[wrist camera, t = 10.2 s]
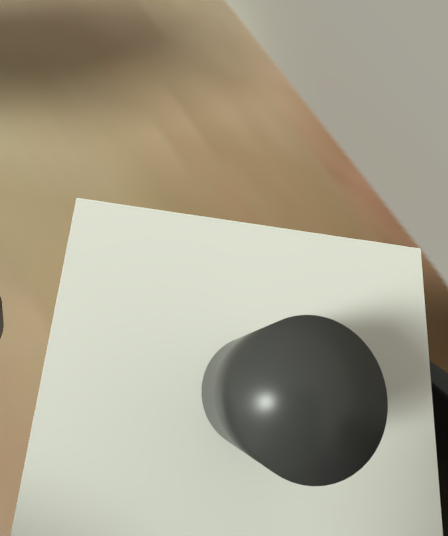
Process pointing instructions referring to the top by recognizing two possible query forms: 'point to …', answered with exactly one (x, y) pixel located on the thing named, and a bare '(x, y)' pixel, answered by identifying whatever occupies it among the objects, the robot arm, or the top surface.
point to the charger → (231, 384)
